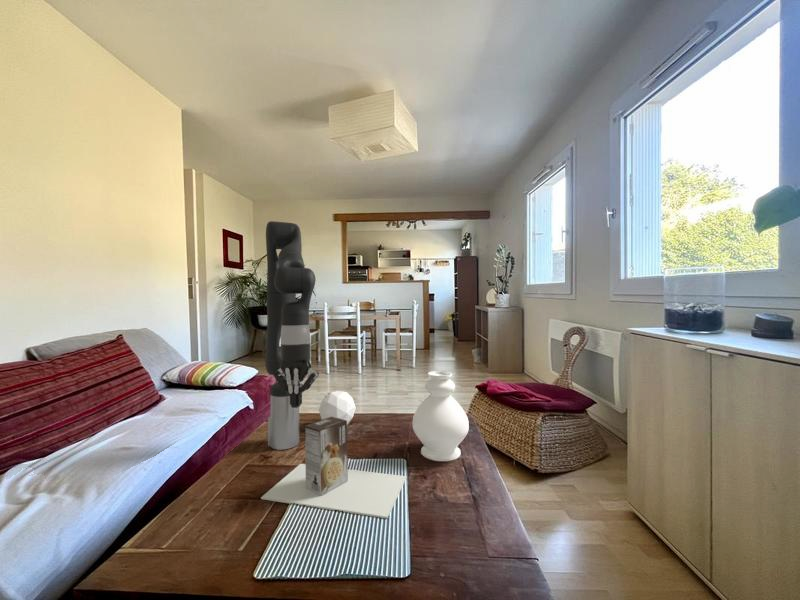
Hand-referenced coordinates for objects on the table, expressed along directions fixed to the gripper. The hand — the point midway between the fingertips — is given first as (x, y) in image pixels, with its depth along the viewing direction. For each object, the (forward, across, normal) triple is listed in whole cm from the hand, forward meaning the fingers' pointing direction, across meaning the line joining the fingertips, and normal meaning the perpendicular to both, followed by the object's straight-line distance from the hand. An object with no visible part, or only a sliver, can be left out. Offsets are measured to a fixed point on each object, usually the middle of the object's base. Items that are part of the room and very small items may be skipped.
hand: (296, 406), depth 90 cm
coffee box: (+20, +9, 0) cm, 22 cm away
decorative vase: (+20, +35, +27) cm, 49 cm away
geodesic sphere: (+20, -7, +41) cm, 46 cm away
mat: (+20, +12, 0) cm, 23 cm away
